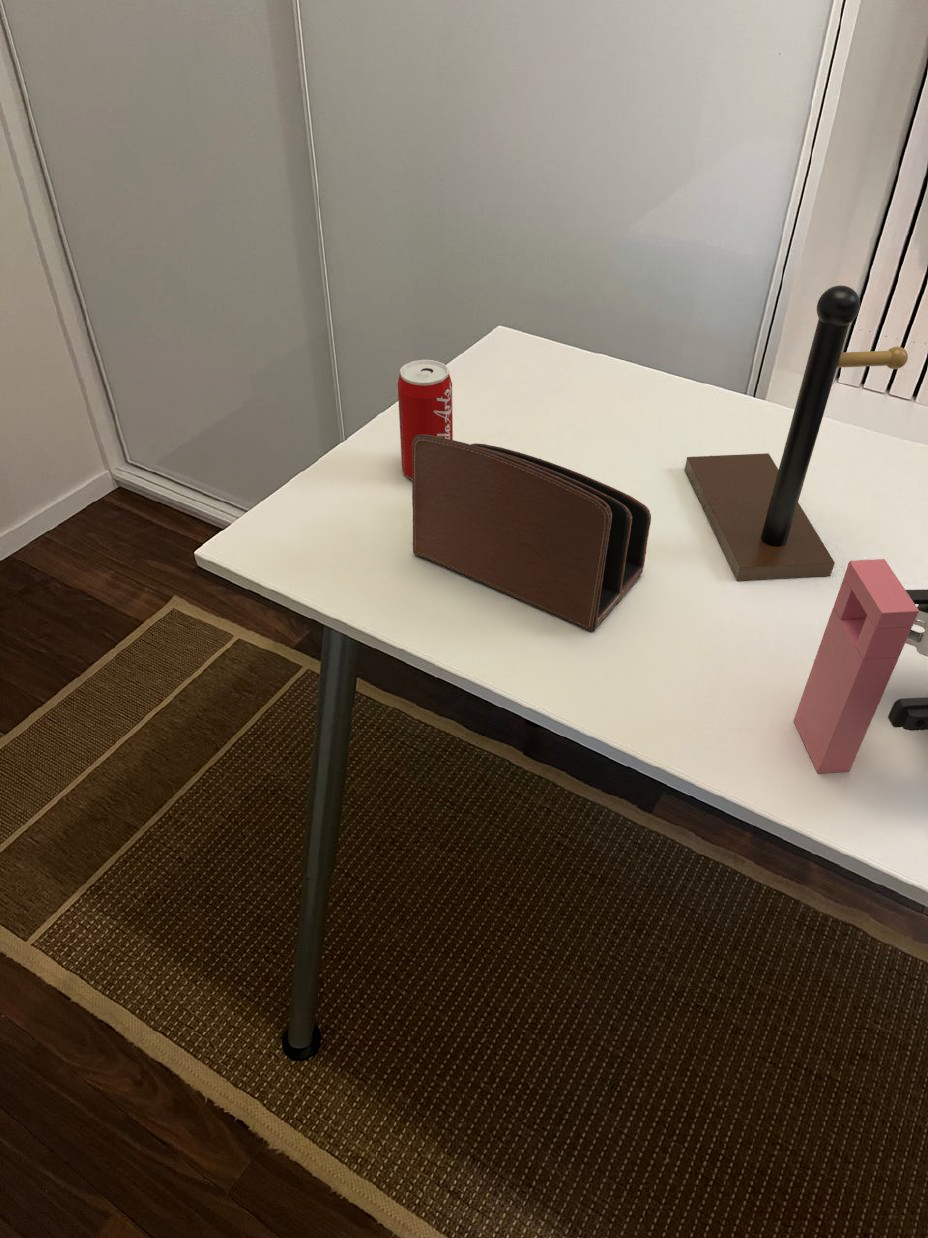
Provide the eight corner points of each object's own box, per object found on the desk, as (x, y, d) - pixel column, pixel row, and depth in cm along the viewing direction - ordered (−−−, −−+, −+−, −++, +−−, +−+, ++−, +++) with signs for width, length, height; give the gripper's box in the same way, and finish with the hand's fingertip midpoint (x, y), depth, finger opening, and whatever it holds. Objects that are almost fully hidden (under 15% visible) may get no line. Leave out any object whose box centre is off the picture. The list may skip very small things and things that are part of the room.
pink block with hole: (823, 718, 75) (884, 558, 64) (849, 771, 71) (919, 610, 60) (793, 720, 75) (849, 560, 64) (817, 773, 71) (881, 613, 60)
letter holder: (593, 634, 82) (610, 501, 73) (411, 555, 90) (405, 426, 81) (644, 574, 88) (665, 444, 79) (469, 505, 97) (469, 380, 87)
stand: (788, 464, 102) (856, 217, 85) (857, 574, 88) (955, 305, 71) (684, 469, 102) (730, 220, 84) (736, 581, 88) (805, 310, 70)
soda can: (441, 489, 99) (439, 385, 91) (393, 479, 100) (387, 376, 92) (460, 462, 103) (459, 360, 95) (413, 453, 104) (409, 352, 96)
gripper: (1052, 556, 71) (844, 567, 70) (1172, 692, 61) (930, 707, 60) (1013, 629, 76) (819, 640, 75) (1118, 767, 66) (893, 781, 65)
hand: (868, 669), depth 67 cm, fingers open, 8 cm apart
